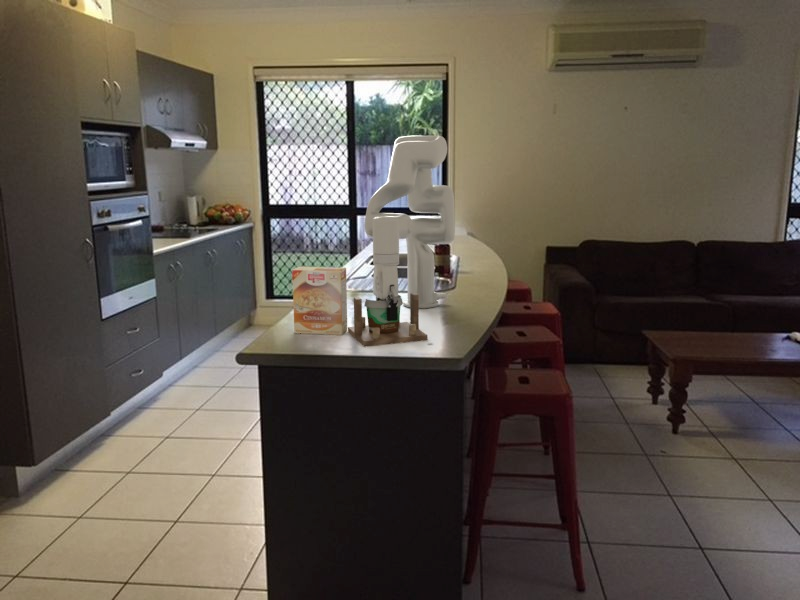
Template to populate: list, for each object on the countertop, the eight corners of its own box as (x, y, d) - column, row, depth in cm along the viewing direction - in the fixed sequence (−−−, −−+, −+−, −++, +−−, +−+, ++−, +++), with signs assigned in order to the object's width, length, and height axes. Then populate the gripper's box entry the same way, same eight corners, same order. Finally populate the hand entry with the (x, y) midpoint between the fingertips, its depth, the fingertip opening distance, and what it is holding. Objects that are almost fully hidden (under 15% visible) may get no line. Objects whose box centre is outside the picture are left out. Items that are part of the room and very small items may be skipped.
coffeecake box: (293, 333, 199) (291, 269, 195) (300, 327, 206) (298, 265, 202) (342, 335, 197) (340, 270, 193) (347, 329, 204) (346, 266, 200)
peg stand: (406, 326, 207) (406, 288, 205) (427, 340, 191) (427, 299, 189) (348, 332, 201) (347, 293, 198) (364, 346, 185) (363, 304, 183)
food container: (376, 337, 189) (375, 303, 187) (364, 332, 194) (364, 299, 192) (411, 330, 196) (411, 297, 194) (399, 326, 201) (399, 294, 199)
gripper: (365, 255, 198) (365, 311, 202) (383, 264, 182) (383, 324, 186) (388, 254, 201) (389, 309, 204) (408, 262, 185) (408, 322, 188)
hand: (386, 316), depth 195 cm, fingers open, 9 cm apart
